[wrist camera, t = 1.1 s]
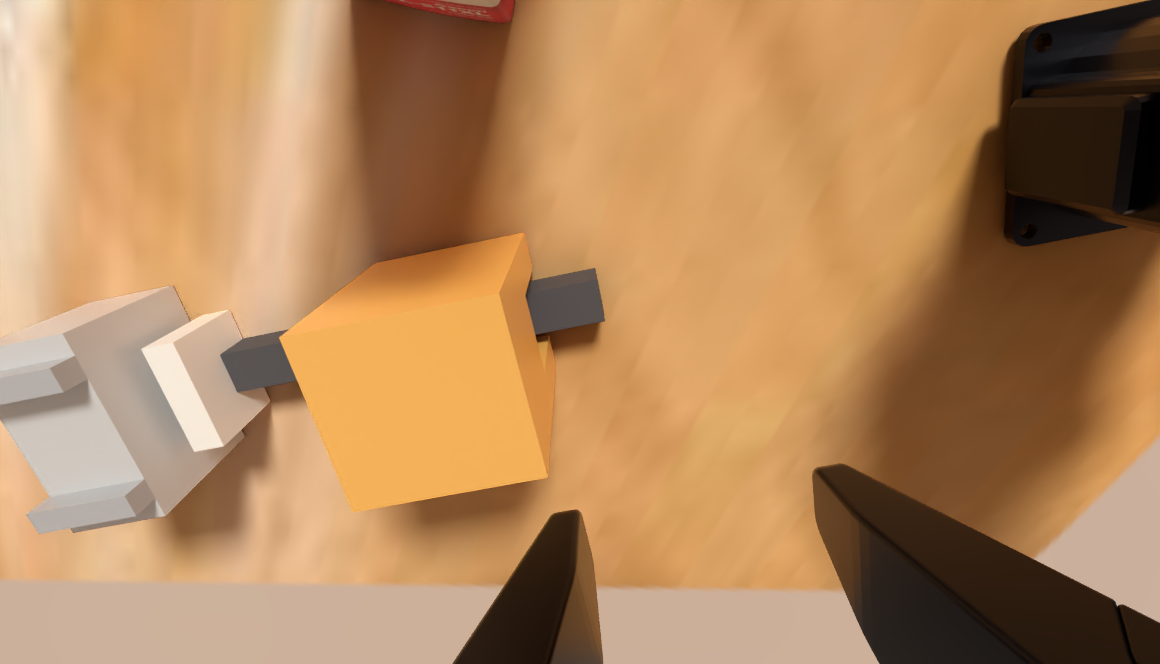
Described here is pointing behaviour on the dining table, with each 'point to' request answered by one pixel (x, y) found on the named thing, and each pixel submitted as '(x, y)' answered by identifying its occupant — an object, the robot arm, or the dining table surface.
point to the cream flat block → (203, 380)
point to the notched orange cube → (429, 375)
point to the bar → (547, 301)
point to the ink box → (465, 8)
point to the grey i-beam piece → (100, 414)
